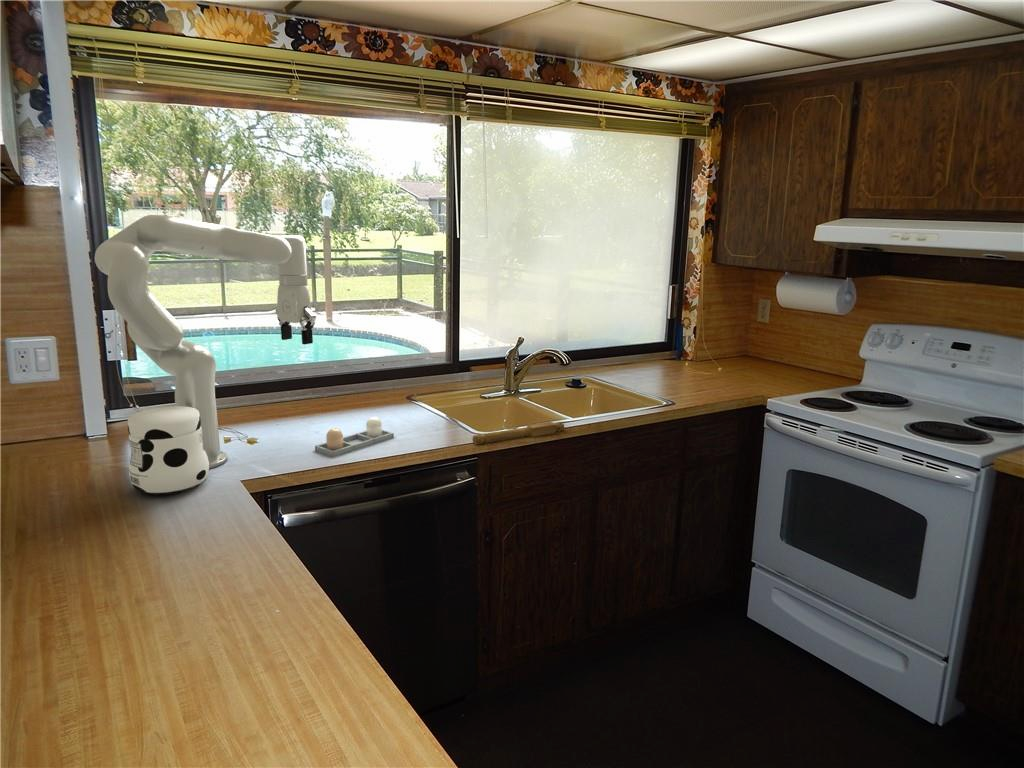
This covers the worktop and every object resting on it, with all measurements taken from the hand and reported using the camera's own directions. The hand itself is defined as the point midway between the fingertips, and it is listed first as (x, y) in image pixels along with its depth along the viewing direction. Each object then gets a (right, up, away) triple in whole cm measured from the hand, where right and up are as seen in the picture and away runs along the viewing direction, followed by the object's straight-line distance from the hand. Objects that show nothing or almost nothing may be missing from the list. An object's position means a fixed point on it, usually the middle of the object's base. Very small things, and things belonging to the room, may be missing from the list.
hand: (297, 341), depth 204 cm
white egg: (+21, -28, +4) cm, 35 cm away
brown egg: (+13, -30, -7) cm, 33 cm away
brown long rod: (+63, -28, +10) cm, 70 cm away
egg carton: (+17, -30, -1) cm, 34 cm away
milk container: (-21, -37, -30) cm, 52 cm away
